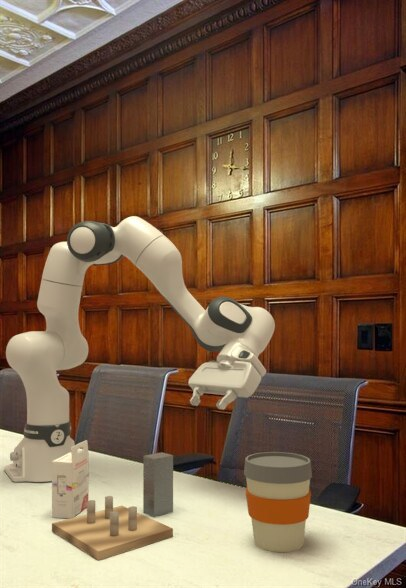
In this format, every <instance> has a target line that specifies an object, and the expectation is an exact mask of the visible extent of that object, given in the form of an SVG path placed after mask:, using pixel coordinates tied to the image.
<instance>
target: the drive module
mask: <svg viewBox="0 0 406 588" xmlns="http://www.w3.org/2000/svg"><path fill="white" fill-rule="evenodd" d="M142 463H143V467H142V468H143V472H142V473H143V482H142V483H143V486H142V488H143V490H142V492H143V497H142V498H143V499H142V501H143V502H142V503H143V505H142V506H143V508H142V511H143V513H142V514H146V515H147V516H150V517H152V518H157V517H160V516H164V515H168V514H170V513H174V455H173V454H170V453H165V452H162V451H161V452H157V453H153V454H152V453H150V454H147V455H143V461H142Z"/></svg>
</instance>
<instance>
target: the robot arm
mask: <svg viewBox="0 0 406 588" xmlns="http://www.w3.org/2000/svg"><path fill="white" fill-rule="evenodd" d="M123 257H125V258H126V259H128V260H129V261H130V262H131V263H132V264H133V265H134V266H135V267H136V268H137V269H139V271H141V273H143V275H145V277H147V279H148V280H149V281H150V282H151V284H152V285H154V287H155V289H156V290H157V291H158V293H159V294H160V295H161V297H162V298H163V299H164V300H165V301H166V303H168V304H167V305H169V306H170V308H172V310H174V311H175V313H176V314H177V315H178V316H179V317H180V318H181V319H182V321H183V322H185V324H186V325H187V326H188V327H189V329H190V330H191V332H192V334H193V338H194V339H195V341H196V343H197V344H198V345H199V346H200V347H201V348H202V349H203V350H205V351H208V352H212V353H213V352H214V353H215V352H216V353H217V352H219V353H218V355H217V356H216V360H213V359H212V360H209V361H208V362H207V361H206V362H204V363H202V364H201V365H200V366H199V367H198V368H197V369H196V370H195V371H194V373H193V374H192V375H191V376H190V377H189V379H188V386H189V387H190V388H191V389H192V391H193V393H192V397H191V398H190V399H189V403H190V404H191V405H192V406H196V407H198V406H199V404H200V403H201V401H202V400H201V399H200V398H201V396H203V395H204V394H212V395H221V396H223V397H222V398H219V399H218V400H217V402H216V404H215V406H216V407H217V409H218V410H223V411H225V410H226V408H227V406H228V405H230V404H231V403H233V401H235V400H236V399H237V398H239V397H240V398H249V397H251V396H252V395H253V394H254V393H255V392H256V390H257V389H258V387H259V386H260V385H259V384H260V383H261V381H262V378H264V376H265V375H266V373H267V369H266V368H265V367H264V365H263V364H262V362H261V361H260V359H259V355H261V354H262V353H263V352H264V351H265V350H266V348H267V346H268V344H269V342H270V341H271V339H272V337H273V334H274V332H275V329H276V324H275V323H276V322H275V320H274V317H273V316H272V314H271V313H270V312H269V311H267V310H266V309H265V308H263V307H260V306H249V305H248V306H247V305H244V304H242V303H239V302H238V301H237V300H235V299H233V298H231V297H228V296H219V297H216V298H213V299H212V300H211V301H210V302H209V304H208V306H207V308H206V309H205V308H204V307H203V306H202V305H201V304H200V303H199V301H198V300H197V299H196V298H195V297H194V296H193V295H192V294H191V293H190V291H189V290H188V289H187V286H186V284H185V280H184V276H183V260H182V259H183V258H182V255H181V252H180V251H179V249H178V248H177V247H176V246H175V244H174V243H173V242H172V241H171V240H170V239H169V238H168V237H166V235H164V234H163V233H162V232H161V231H160V230H159V229H157V228H156V227H155V226H153V224H151V223H149V222H148V221H147V220H145V219H143V218H141V217H140V216H136V215H134V216H133V215H132V216H129V217H126V218H124V219H123V220H121V222H119V224H117V225H116V226H115V227H114V226H112V225H110V224H107V223H103V222H99V221H98V222H97V221H93V220H85V221H81V222H78V223H76V224H75V225H73V226H72V227H71V228H70V229H69V231H68V234H67V236H66V241H60V242H57V243H55V244H53V245H52V247H50V250H49V252H48V255H47V258H46V261H45V265H44V268H43V270H42V271H43V272H42V275H41V281H40V286H39V291H38V297H37V302H36V306H37V309H38V311H39V312H40V313H41V314H42V315H43V316H44V318H45V323H46V327H45V331H43V330H42V331H40V330H39V331H38V330H36V331H32V330H31V331H26V332H22V333H19V334H16V335H14V336H12V337H11V338H10V339H9V341H8V343H7V345H6V348H5V349H6V350H5V357H6V361H7V363H8V365H9V367H11V369H12V370H14V371H15V372H16V373H17V375H18V376H19V377H20V379H21V381H22V383H23V384H22V385H23V386H24V389H25V394H26V423H25V424H24V428H23V438H22V439H21V440H20V441H19V443H18V444H17V445H16V446H15V447H14V449H13V451H12V452H10V454H9V458H10V459H9V460H10V461H11V462H12V463H11V464H7V465H5V466H4V468H3V470H4V472H5V473H6V474H7V476H8V477H9V478H10V479H11V481H12V482H15V483H19V482H21V483H22V482H31V483H32V482H33V483H44V482H45V483H46V482H52V461H54V460H56V459H58V458H60V457H62V456H64V455H66V454H68V453H71V447H73V446H75V445H76V443H75V441H74V439H73V438H71V431H72V425H71V421H70V393H69V391H68V390H67V389H66V388H65V387H64V386H62V385H61V383H60V381H59V379H58V375H57V371H65V370H71V369H73V368H76V367H78V366H81V365H83V364H84V362H85V361H86V360H87V359H88V356H89V344H88V341H87V340H86V338H85V337H84V336H83V334H82V330H81V327H80V322H79V309H80V303H81V297H82V292H83V286H84V279H85V275H86V273H87V270H88V269H89V267H90V266H95V267H97V266H106V265H112V264H114V263H116V262H119V261H120V260H121V259H123Z"/></svg>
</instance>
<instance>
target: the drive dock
mask: <svg viewBox="0 0 406 588" xmlns="http://www.w3.org/2000/svg"><path fill="white" fill-rule="evenodd" d="M51 532H52V533H54V534H56V535H57V536H59V537H60V538H61V539H64V540H66V542H68V543H70V544H72V545H73V546H74V547H76V548H78V549H79V550H82V551H83V552H84V553H86V554H87V555H89V556H91V557H92V558H94V559H95V560H97V561H101V560H104V559H107V558H111V557H113V556H116V555H119V554H123V553H125V552H129V551H132V550H135V549H138V548H141V547H145V546H147V545H151V544H154V543H157V542H160V541H163V540H167V539H169V538H173V536H174V528H173V527H170V526H169V525H166V524H164V523H161V522H160V521H157V520H155V519H153V518H150V517H148V516H146V515H144V514H143V513H140V512H138V507H137V506H134V505H133V506H132V505H131V506H129V507H126V506H124V505H118V506H114V496H112V495H107V496H105V497H104V509H103V510H99V511H96V500H94V499H90V500H89V499H88V501H87V507H86V514H83V515H82V514H81V515H79V516H75V517H74V518H65V519H64V520H63V519H62V520H60V521H54V522H52V523H51Z"/></svg>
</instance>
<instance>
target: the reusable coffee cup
mask: <svg viewBox="0 0 406 588" xmlns="http://www.w3.org/2000/svg"><path fill="white" fill-rule="evenodd" d="M244 459H245V460H244V467H243V469H244V470H243V475H244V476H245V479H246V481H245V482H246V487H245V496H246V497H245V498H246V504H247V512H248V516H249V517H250V519H251V526H252V533H253V534H252V535H253V541H254V544H255V545H256V547H258V548H259V549H262V550H265V551H268V552H274V553H288V552H289V553H290V552H294V551H297V550H299V549H301V548H302V547H304V542H305V541H304V540H305V531H306V523H307V522H306V521H307V520H308V518H309V515H310V505H311V496H312V491H311V489H310V485H311V479H312V477H313V474H312V463H311V459H310V458H309V457H307V456H305V455H302V454H298V453H295V452H294V453H292V452H282V451H281V452H280V451H265V452H256V453H253V454H250V455H248V456H246V457H245V458H244Z"/></svg>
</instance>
